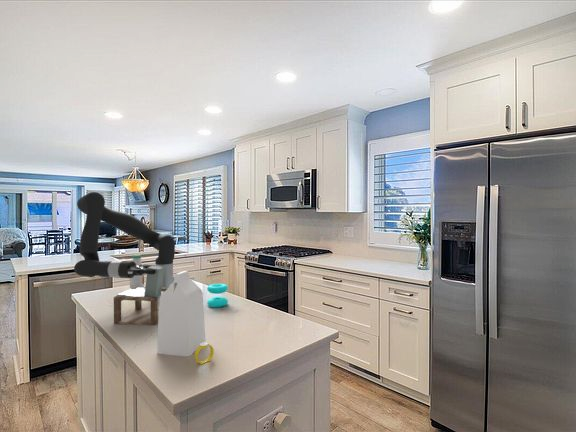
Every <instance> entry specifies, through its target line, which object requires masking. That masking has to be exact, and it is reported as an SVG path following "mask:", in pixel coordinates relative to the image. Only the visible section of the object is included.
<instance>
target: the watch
mask: <svg viewBox="0 0 576 432" xmlns="http://www.w3.org/2000/svg"><path fill="white" fill-rule="evenodd" d="M208 347H209V349H210V352H209V354H208V357H207V358H206V359H204V360H201V361H199V354H200V351H201V350H202V349H205V348H208ZM213 356H214V347H213V346H212V344H210V343H209V341H206V342H202V343H200V346H199V347H198V348H197V350H196V351H195V352H194V360H195V361H196V363H198V364H200V365H203V364H202V363H204V364H206V363H208V362H207V361H209V362H210V361H211V360H212V359H213ZM205 361H206V363H205Z"/></svg>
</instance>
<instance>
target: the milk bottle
mask: <svg viewBox="0 0 576 432" xmlns="http://www.w3.org/2000/svg"><path fill="white" fill-rule="evenodd" d="M141 260H142V255H141V254H135V255H134V254H133V255H132V261H134V262H135V264H136V265H137V266H138V265H143V263H142V261H141ZM136 287H145V275H142V276H140V275H134V277H132V278H129V289H130V288H131V289H135V288H136Z"/></svg>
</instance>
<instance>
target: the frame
mask: <svg viewBox="0 0 576 432" xmlns="http://www.w3.org/2000/svg"><path fill="white" fill-rule="evenodd" d="M137 288H139V287H136V288H135V289H137ZM141 288H145V286H144V287H141ZM167 289H168V288H162V289H161V291H166V290H167ZM121 300H123V301H134V305H135V306H134V310H132V311H130V312H129V313H126V314H125V315H123V316H122V301H121ZM158 300H159V298H158V297H131V296H117V295H116V296H113V324H119V325H120V324H121V325H122V324H123V325H145V326H146V325H149V326H155V325H156V326H157V325H158V319H159V302H158ZM143 301H144V302H150V301H151V302H150V308H142V307H143V305H142V304H143V303H142V302H143Z"/></svg>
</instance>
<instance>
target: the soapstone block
mask: <svg viewBox="0 0 576 432" xmlns="http://www.w3.org/2000/svg"><path fill="white" fill-rule="evenodd" d="M148 269H155V274H146V279H145V280H146V281H145V285H144V287H145V294H144V295H148V296H154V297H156V296H158V295H159V294H161V289H162V281H163V273H164V267H159V266H151V267H148Z"/></svg>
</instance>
